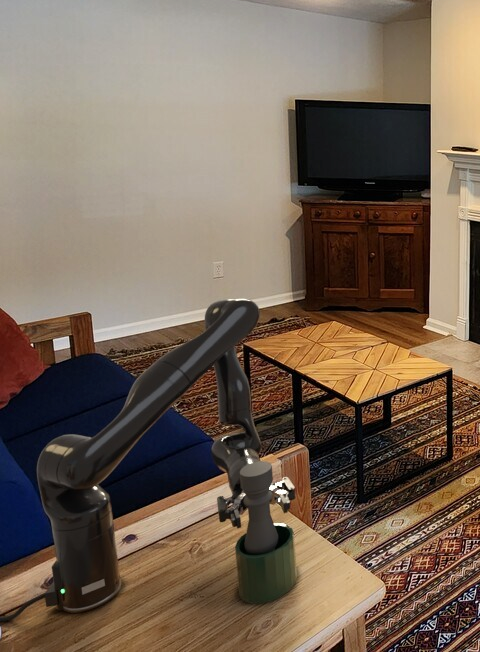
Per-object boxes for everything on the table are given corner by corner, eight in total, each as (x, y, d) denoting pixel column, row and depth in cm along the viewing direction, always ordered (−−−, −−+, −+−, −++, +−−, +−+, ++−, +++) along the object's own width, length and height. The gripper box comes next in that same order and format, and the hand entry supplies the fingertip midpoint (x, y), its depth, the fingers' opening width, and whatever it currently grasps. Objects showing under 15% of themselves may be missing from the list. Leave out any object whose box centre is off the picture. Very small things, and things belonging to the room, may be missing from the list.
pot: (233, 608, 119) (229, 562, 117) (245, 571, 129) (241, 528, 127) (292, 597, 122) (289, 552, 120) (299, 562, 132) (296, 519, 130)
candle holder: (286, 571, 128) (278, 460, 124) (274, 593, 122) (265, 477, 118) (255, 572, 128) (246, 460, 124) (242, 594, 122) (232, 477, 118)
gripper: (210, 473, 131) (221, 511, 118) (282, 453, 139) (299, 487, 126) (213, 506, 132) (224, 546, 119) (284, 484, 140) (301, 520, 127)
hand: (263, 516), depth 123 cm, fingers open, 8 cm apart
